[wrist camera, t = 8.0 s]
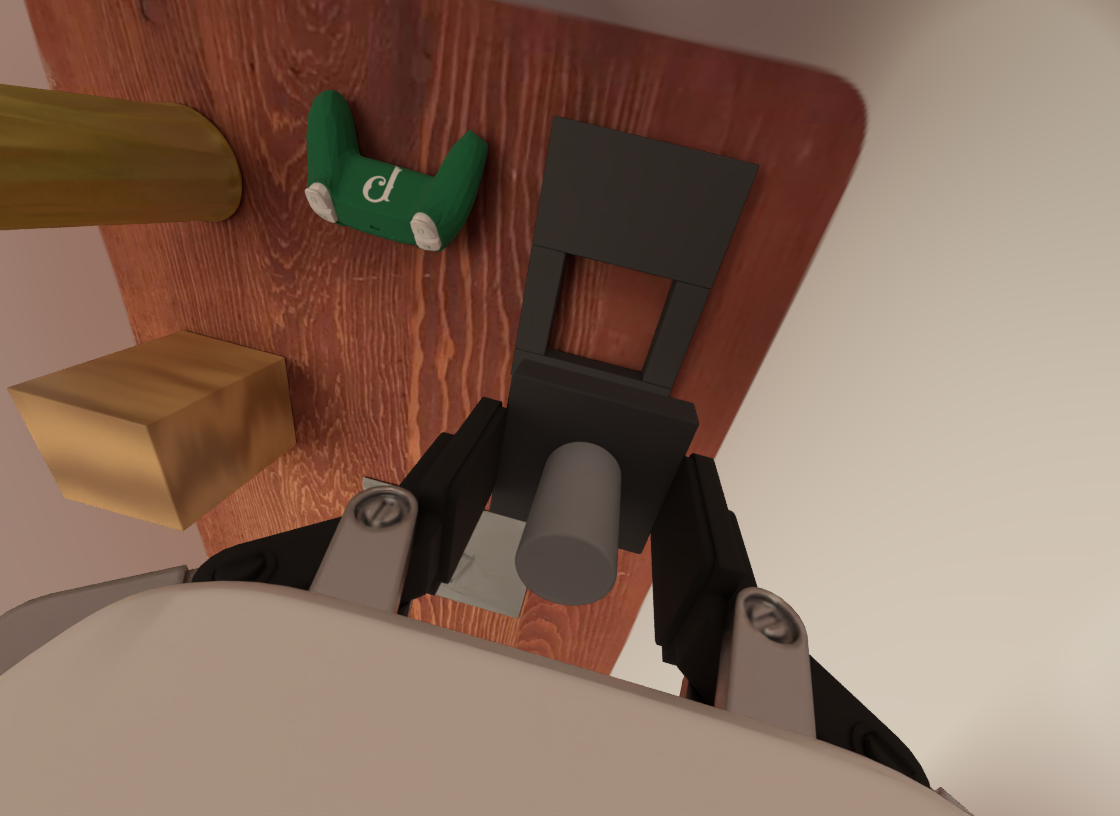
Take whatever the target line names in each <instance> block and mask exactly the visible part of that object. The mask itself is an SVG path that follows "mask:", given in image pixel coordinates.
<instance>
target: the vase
mask: <svg viewBox="0 0 1120 816" xmlns="http://www.w3.org/2000/svg"><path fill="white" fill-rule="evenodd" d="M241 196H242V176H241V172H240V169H239V165H238V162H237V160H236V157H235V155H234V153H233V151H232V149H231V147H230V146H229V144H228V142H227V141H226V139H225V138H224V136H223V135H222V134H221V133H220V131H219V130H218V129H217V128H216V127H215V126H214V125H213V124H212V123H211V122H210V121H209V120H208V119H206V118H205V117H204V116H202V115H201V114H200V113H198V112H197V111H195V110H193V109H192V108H190V107H188V106H185V105H181V104H177V103H170V102H158V103H152V102H138V101H131V100H124V99H116V98H108V97H100V96H92V95H84V94H76V93H68V92H60V91H52V90H44V89H36V88H28V87H20V86H13V85H5V84H0V230H15V229H35V228H58V227H59V228H60V227H78V226H94V225H124V224H149V223H167V222H184V221H205V222H219V221H223V220H225V219H227V218H229V217H230V216H231V215H232V214H234V212H235V211H236V210H237V208H238V207H239V204H240V201H241Z"/></svg>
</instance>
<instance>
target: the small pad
mask: <svg viewBox="0 0 1120 816" xmlns="http://www.w3.org/2000/svg"><path fill="white" fill-rule="evenodd" d="M507 408H508V412H507V417H506V423H505V429H504V435H503V441H502V446H501V452H500V458H499V464H498V470H497V475H496V481H495V486H494V489H493V492H492V498H491V503H490V512H491V513H494V514H498V515H501V516H505V517H509V518H512V519H516V520H519V521H523V522H526V525H525V528H524V531H523V534H522V537H521V540H520V543H519V546H518V549H517V552H516V555H515V566H516V571H517V573H518V576H519V578H520V579H521V581H522V582H523V583H524V585H525V586H526V587H527V588H528V589H529V590H531V591H532V592H533V593H535V594H536V595H538V596H540V597H542V598H544V599H546V600H548V601H551V602H554V603H558V604H563V605H585V604H590V603H593V602H596V601H598V600H600V599H601V598H603V597H605V596H606V595H607V594H608V593H609V592H610V590H611V589H612V587H613V586H614V584H615V581H616V576H617V558H618V548H619V549H623V550H626V551H630V552H633V553H637V554H641V553H642V551H643V549H644V546H645V544H646V542H647V540H648V537H649V535H650V533H651V529H652V526H653V524H654V522H655V519H656V517H657V515H658V513H659V510H660V508H661V506H662V504H663V502H664V499H665V497H666V495H667V493H668V490H669V488H670V486H671V484H672V481H673V479H674V477H675V475H676V472H677V470H678V468H679V466H680V464H681V461H682V459H683V457H684V456H685V455H686V453H687V451H688V448H689V446H690V444H691V442H692V439H693V437H694V435H695V433H696V430H697V428H698V426H699V421H698V417H697V413H696V410H695V406H694V404H693V403H691V402H687V401H683V400H679V399H676V398H672V397H668V396H664V395H660V394H657V393H653V392H649V391H645V390H642V389H638V388H634V387H630V386H626V385H623V384H619V383H615V382H611V381H607V380H604V379H600V378H596V377H592V376H589V375H585V374H581V373H577V372H573V371H570V370H566V369H562V368H558V367H554V366H551V365H547V364H543V363H539V362H536V361H532V360H528V359H523V360H522V361H521V363H520V364H519V366H518V367H517V369H516V370H515V372H514V373H513V375H512V380H511V386H510V392H509V398H508V404H507Z"/></svg>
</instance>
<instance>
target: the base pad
mask: <svg viewBox="0 0 1120 816" xmlns="http://www.w3.org/2000/svg"><path fill="white" fill-rule="evenodd" d="M758 168H759V164H754V163H750V162H746V161H742V160H738V159H734V158H729V157H725V156H721V155H717V154H713V153H709V152H704V151H700V150H696V149H692V148H688V147H684V146H679V145H675V144H671V143H667V142H663V141H659V140H654V139H650V138H646V137H642V136H638V135H634V134H630V133H625V132H621V131H617V130H613V129H609V128H605V127H600V126H596V125H592V124H588V123H584V122H580V121H575V120H571V119H567V118H563V117H559V116H554V117H553V122H552V129H551V135H550V141H549V147H548V153H547V159H546V165H545V171H544V177H543V183H542V189H541V195H540V201H539V207H538V213H537V219H536V225H535V231H534V237H533V245H532V249H531V255H530V261H529V267H528V273H527V279H526V285H525V291H524V297H523V303H522V309H521V315H520V321H519V327H518V333H517V339H516V345H515V352H514V358H513V364H512V370H511V375H513V373H514V372H515V370H516V369H517V367H518V366H519V364H520V363H521V361H522V360H523V359H528V360H532V361H536V362H539V363H543V364H547V365H551V366H554V367H558V368H562V369H566V370H570V371H573V372H577V373H581V374H585V375H589V376H592V377H596V378H600V379H604V380H607V381H611V382H615V383H619V384H623V385H626V386H630V387H634V388H638V389H642V390H645V391H649V392H653V393H657V394H660V395H664V396H668V397H669V395H670V392H671V388H672V387H673V385H674V382H675V379H676V377H677V374H678V372H679V369H680V367H681V364H682V362H683V359H684V357H685V354H686V351H687V349H688V346H689V344H690V341H691V339H692V336H693V334H694V331H695V328H696V326H697V323H698V321H699V318H700V316H701V313H702V311H703V308H704V306H705V303H706V300H707V298H708V295H709V293H710V289H711V288H712V286H713V283H714V281H715V278H716V275H717V273H718V270H719V268H720V265H721V263H722V260H723V258H724V255H725V253H726V250H727V247H728V245H729V242H730V240H731V237H732V235H733V232H734V230H735V227H736V225H737V222H738V219H739V217H740V214H741V212H742V209H743V207H744V204H745V202H746V199H747V196H748V194H749V191H750V189H751V186H752V184H753V181H754V179H755V176H756V174H757V171H758ZM568 253H569V254H573V255H577V256H581V257H585V258H589V259H593V260H597V261H601V262H605V263H609V264H613V265H617V266H621V267H625V268H629V269H633V270H637V271H641V272H645V273H649V274H653V275H657V276H661V277H665V278H669V279H673V282H672V285H671V288H670V290H669V293H668V296H667V299H666V302H665V305H664V308H663V311H662V314H661V317H660V320H659V323H658V326H657V328H656V331H655V334H654V337H653V340H652V343H651V346H650V349H649V352H648V355H647V358H646V361H645V363H644V366H643V369H642V372H638V371H634V370H630V369H627V368H623V367H619V366H615V365H611V364H607V363H603V362H600V361H596V360H592V359H588V358H584V357H580V356H576V355H573V354H569V353H565V352H561V351H557V350H553V349H549V348H548V347H549V343H550V338H551V334H552V329H553V324H554V319H555V314H556V310H557V305H558V300H559V295H560V291H561V286H562V281H563V276H564V272H565V267H566V262H567V257H568Z"/></svg>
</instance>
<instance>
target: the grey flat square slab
mask: <svg viewBox="0 0 1120 816" xmlns="http://www.w3.org/2000/svg"><path fill="white" fill-rule="evenodd" d="M380 485H390V484H386V483H383V482H379V481H375V480H372V479H368V478H365V477H363V490H366V489H368V488H371V487H375V486H380ZM392 486H393V485H392ZM525 525H526V522H523V521H519V520H516V519H512V518H509V517H505V516H501V515H498V514H494V513H491V512H487V511H483V513H482V515H481V517H480V519H479V521H478V523H477V525H476V528H475V530H474V532H473V534H472V536H471V538H470V540H469V542H468V544H467V547H466V549H465V551H464V553H463V555H462V557H461V559H460V561H459V563H458V566H457V568H456V570H455V572H454V574H453V576H452V578H451V580H450V582H449V584H445V583H441V584H440V586H439V588H438V591H437V593H436V595H437V596H441V597H444V598H448V599H451V600H455V601H458V602H462V603H465V604H469V605H472V606H476V607H479V608H483V609H486V610H490V611H493V612H497V613H500V614H504V615H508V616H511V617H515V618H518V617H519V614H520V610H521V606H522V603H523V599H524V596H525V592H526V588H527V587H526V586H525V585H524V583H523V582H522V581H521V579H520V578H519V576H518V573H517V571H516V566H515V555H516V552H517V549H518V546H519V543H520V540H521V537H522V534H523V531H524V528H525Z"/></svg>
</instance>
